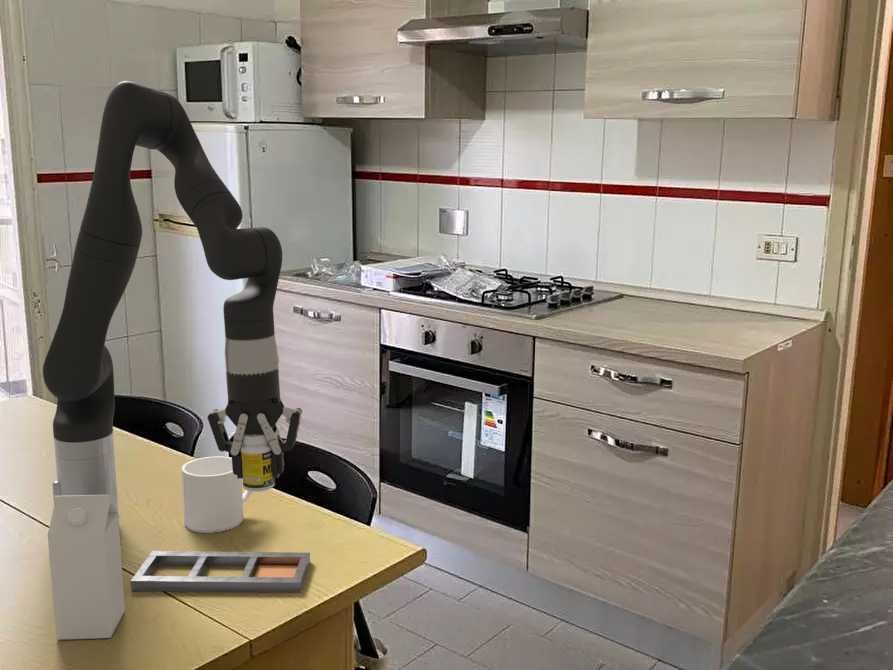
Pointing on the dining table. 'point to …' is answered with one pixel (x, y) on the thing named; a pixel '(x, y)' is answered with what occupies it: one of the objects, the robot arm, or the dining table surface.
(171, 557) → the grey flat rectangular frame
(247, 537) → the dining table surface
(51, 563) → the milk carton
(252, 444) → the supplement bottle
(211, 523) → the mug
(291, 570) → the marked hole pad
